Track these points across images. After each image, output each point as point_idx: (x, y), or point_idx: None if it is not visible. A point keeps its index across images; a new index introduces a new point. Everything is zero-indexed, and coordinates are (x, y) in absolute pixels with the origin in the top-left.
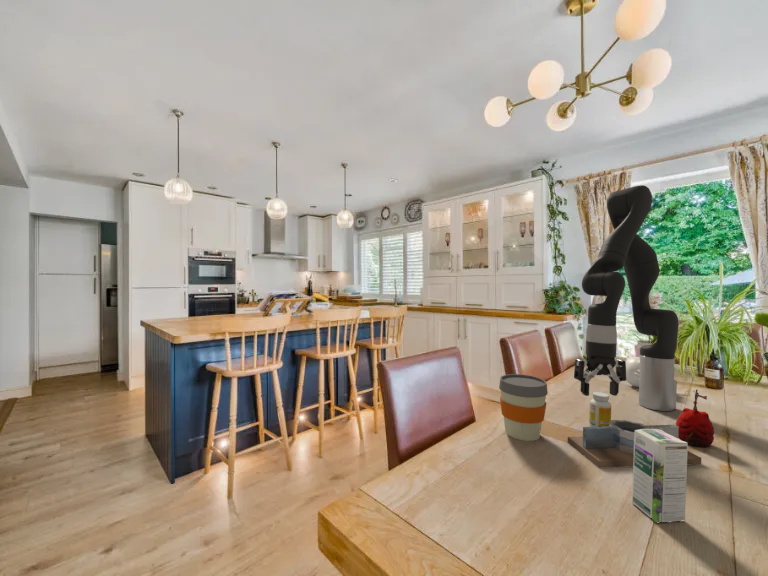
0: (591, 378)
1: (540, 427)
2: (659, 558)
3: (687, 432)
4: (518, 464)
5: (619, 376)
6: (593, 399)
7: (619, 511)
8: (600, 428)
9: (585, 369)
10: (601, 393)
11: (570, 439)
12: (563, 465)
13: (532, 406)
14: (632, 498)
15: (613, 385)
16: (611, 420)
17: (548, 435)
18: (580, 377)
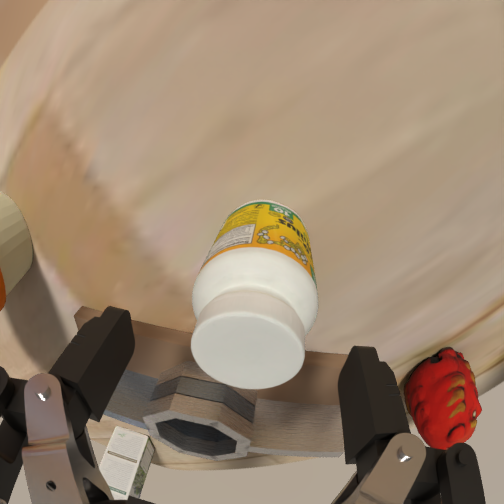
0: (97, 466)
1: (14, 284)
2: (105, 443)
3: (410, 407)
4: (7, 329)
5: (424, 492)
6: (217, 294)
7: (97, 422)
8: (106, 414)
9: (32, 487)
10: (270, 346)
11: (77, 325)
12: (57, 357)
13: None
14: (114, 430)
15: (351, 435)
16: (165, 411)
17: (50, 260)
18: (16, 430)
